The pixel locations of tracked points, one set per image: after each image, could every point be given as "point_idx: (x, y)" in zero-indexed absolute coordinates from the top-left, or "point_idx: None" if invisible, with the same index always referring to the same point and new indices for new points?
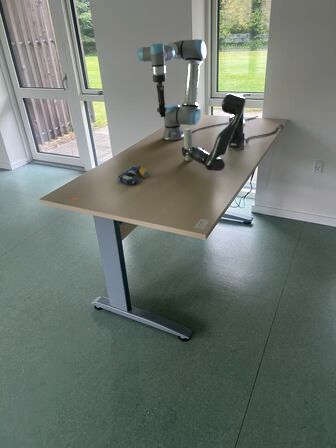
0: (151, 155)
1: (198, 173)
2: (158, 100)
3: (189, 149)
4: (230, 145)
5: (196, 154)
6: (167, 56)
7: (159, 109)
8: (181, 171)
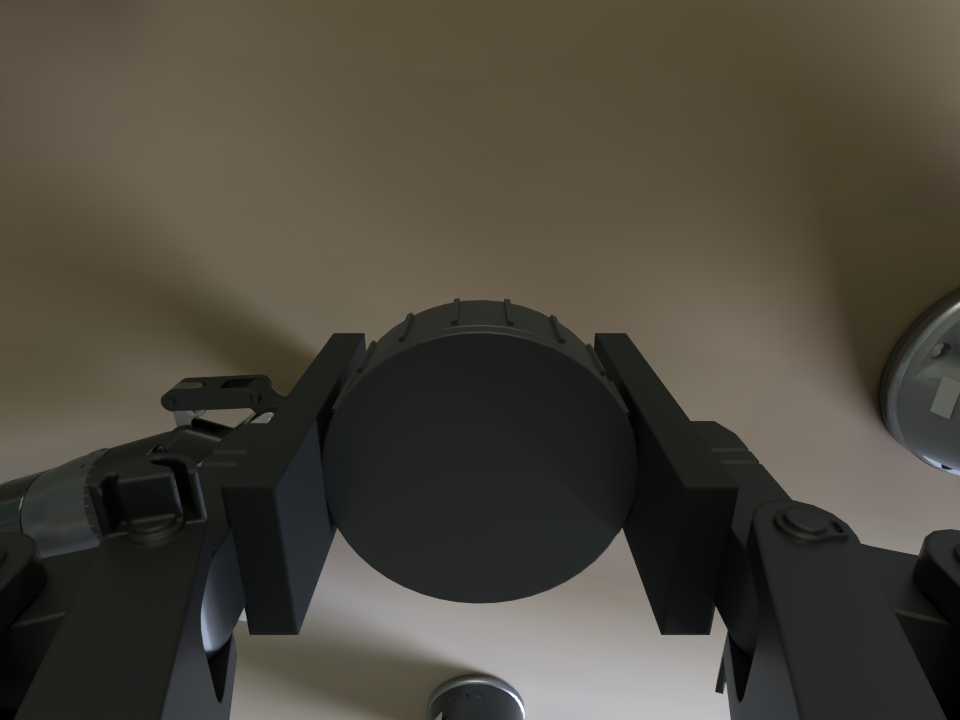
0: (561, 80)
1: (39, 413)
2: (945, 573)
3: None
4: (451, 706)
5: (58, 485)
6: None
7: (347, 391)
8: (87, 304)
